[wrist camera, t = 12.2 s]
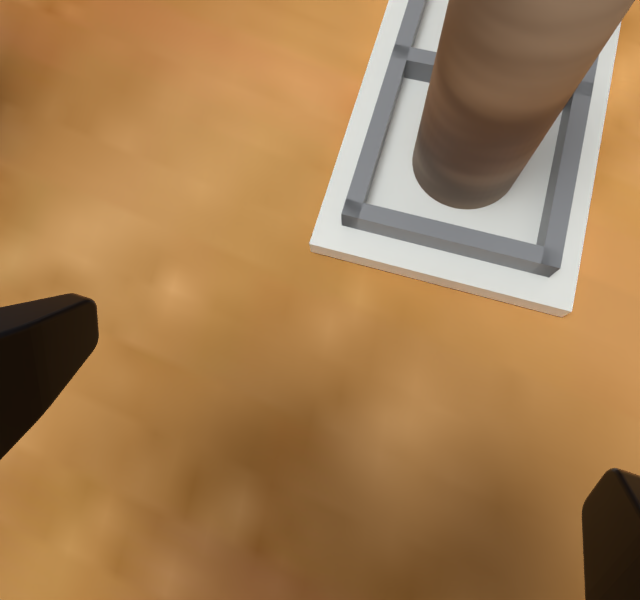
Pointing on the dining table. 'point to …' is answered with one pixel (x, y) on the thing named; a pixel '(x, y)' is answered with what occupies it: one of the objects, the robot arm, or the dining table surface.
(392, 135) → the pallet board
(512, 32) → the billet
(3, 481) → the dining table surface
